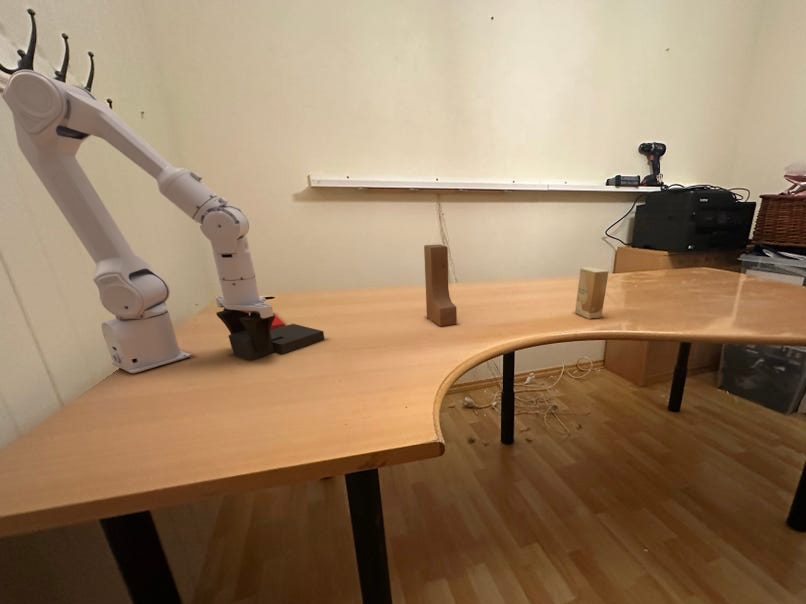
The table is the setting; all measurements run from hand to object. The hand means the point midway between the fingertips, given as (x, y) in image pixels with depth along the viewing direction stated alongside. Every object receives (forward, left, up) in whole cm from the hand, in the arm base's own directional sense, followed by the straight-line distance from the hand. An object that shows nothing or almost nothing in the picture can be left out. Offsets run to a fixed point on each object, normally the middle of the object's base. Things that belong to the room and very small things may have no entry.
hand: (252, 347), depth 78 cm
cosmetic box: (+63, -48, -1) cm, 79 cm away
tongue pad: (+1, 0, -1) cm, 2 cm away
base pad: (+8, 0, -1) cm, 8 cm away
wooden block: (+38, -18, -1) cm, 42 cm away
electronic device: (+14, +17, -1) cm, 22 cm away
